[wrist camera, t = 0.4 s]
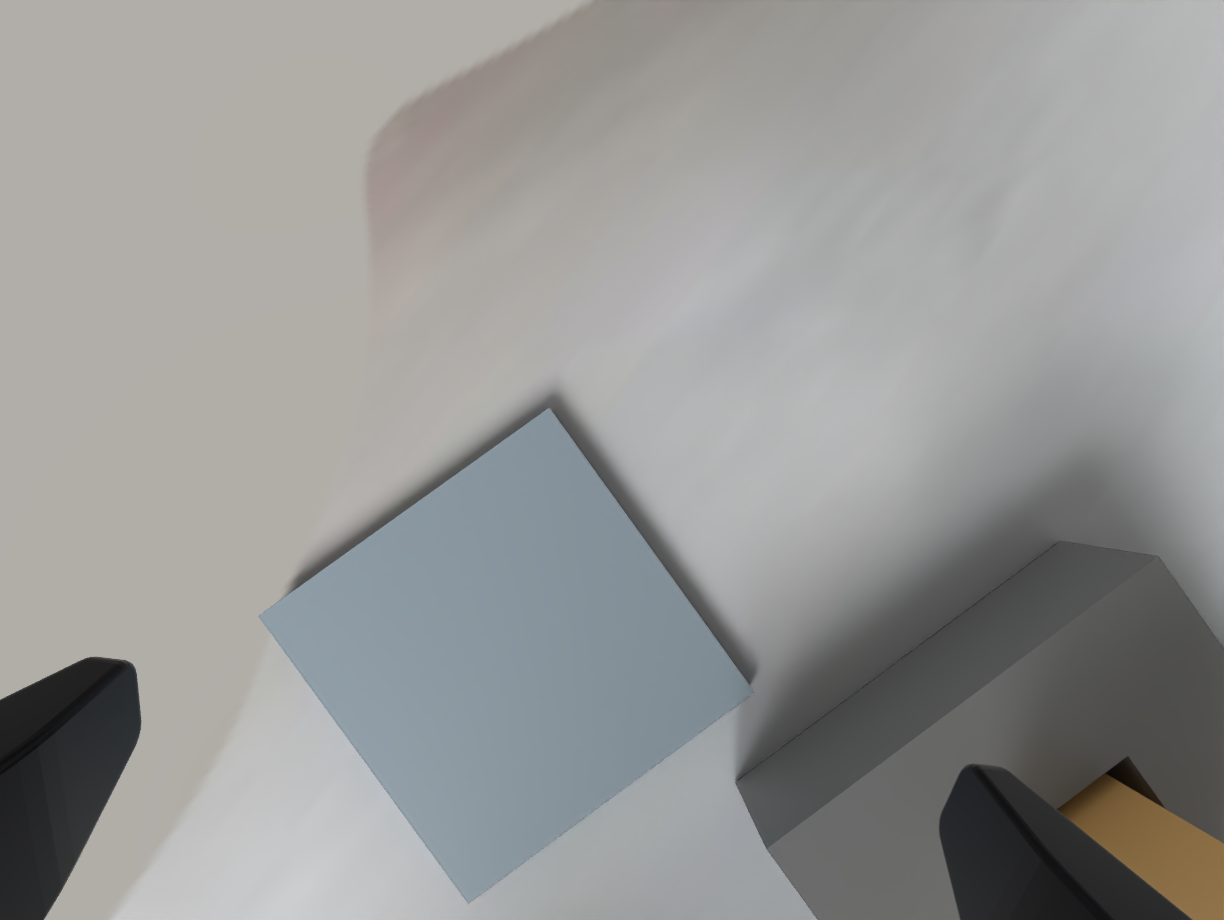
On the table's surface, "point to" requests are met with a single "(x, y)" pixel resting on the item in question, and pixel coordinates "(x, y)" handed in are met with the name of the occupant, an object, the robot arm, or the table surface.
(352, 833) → the table surface
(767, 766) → the grey square hole base
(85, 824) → the robot arm
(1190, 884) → the tan rectangular block
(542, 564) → the pad
